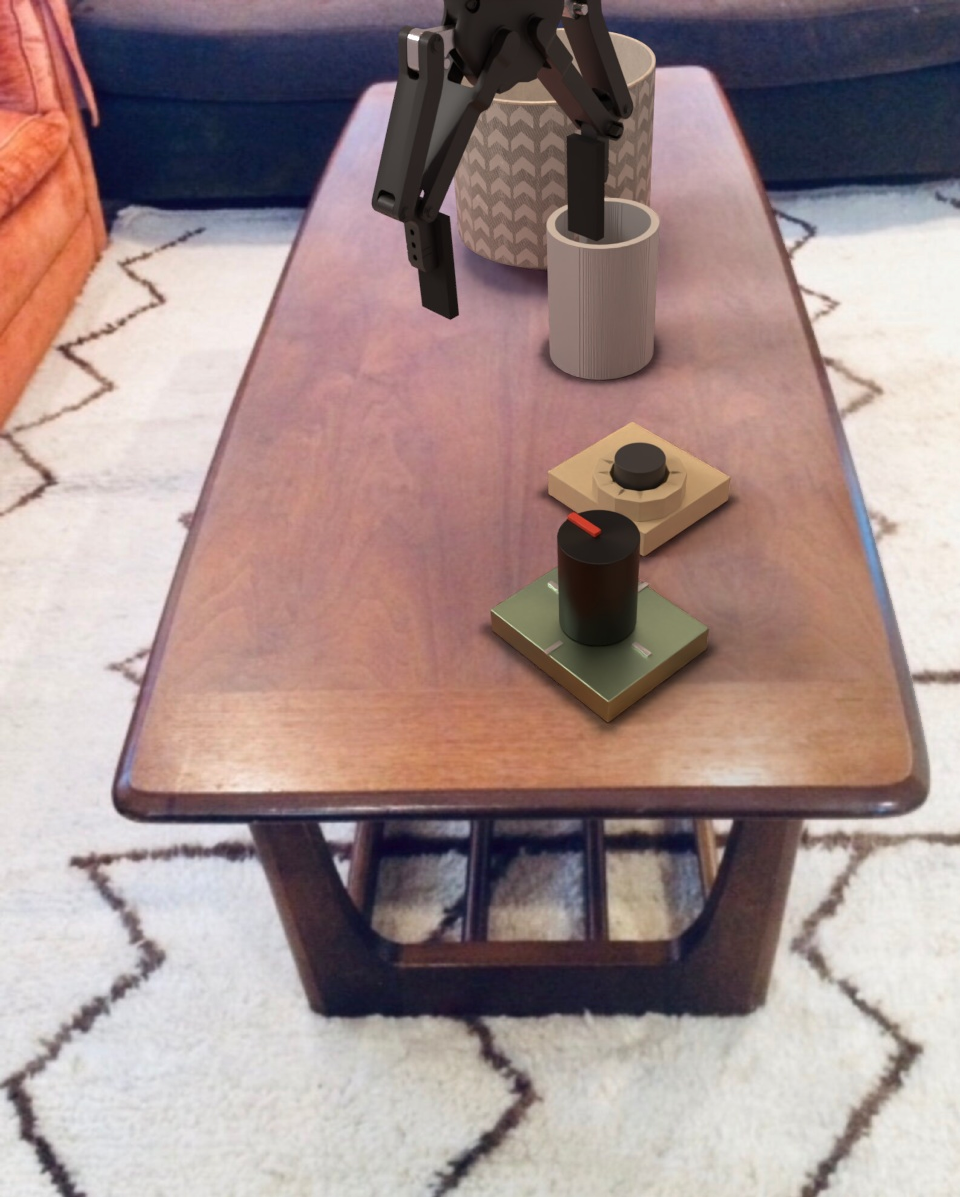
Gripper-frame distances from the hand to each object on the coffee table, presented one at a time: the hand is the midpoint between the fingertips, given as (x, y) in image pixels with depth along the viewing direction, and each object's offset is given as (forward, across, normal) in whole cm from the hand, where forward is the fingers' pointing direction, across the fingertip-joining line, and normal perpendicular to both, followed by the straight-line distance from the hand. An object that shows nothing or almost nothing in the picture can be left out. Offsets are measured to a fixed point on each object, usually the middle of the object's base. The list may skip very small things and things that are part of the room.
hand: (516, 271), depth 73 cm
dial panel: (+18, +9, +15) cm, 25 cm away
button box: (+18, -4, +8) cm, 20 cm away
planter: (+17, -28, -24) cm, 41 cm away
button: (+14, -2, +9) cm, 17 cm away
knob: (+16, +9, +15) cm, 24 cm away
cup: (+18, -18, -8) cm, 26 cm away
